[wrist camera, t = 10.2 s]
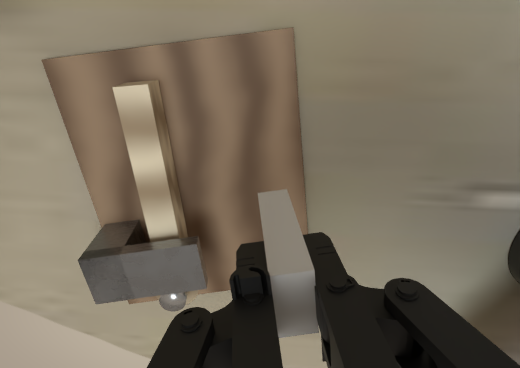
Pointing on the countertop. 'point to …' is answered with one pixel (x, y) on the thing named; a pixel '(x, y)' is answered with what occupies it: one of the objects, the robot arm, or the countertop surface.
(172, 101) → the base plate
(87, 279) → the block
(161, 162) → the link
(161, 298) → the pintle
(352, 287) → the robot arm
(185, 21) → the countertop surface
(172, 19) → the countertop surface
